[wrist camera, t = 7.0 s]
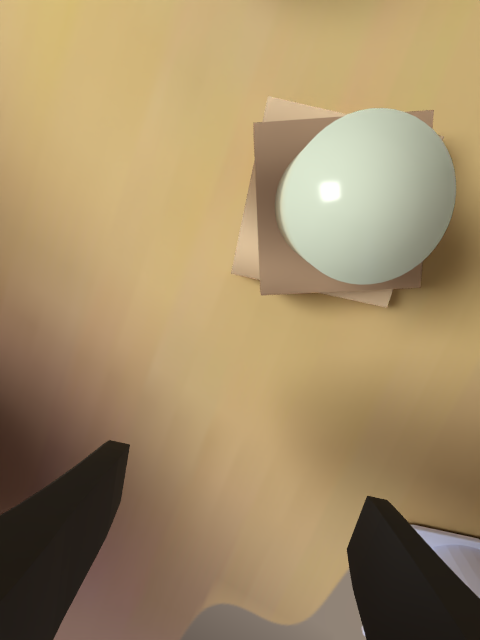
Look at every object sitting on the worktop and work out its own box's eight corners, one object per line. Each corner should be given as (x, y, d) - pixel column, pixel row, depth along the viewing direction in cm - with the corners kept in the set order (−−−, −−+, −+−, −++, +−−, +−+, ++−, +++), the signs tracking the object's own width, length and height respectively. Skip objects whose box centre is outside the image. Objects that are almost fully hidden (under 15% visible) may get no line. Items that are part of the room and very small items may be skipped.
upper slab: (402, 280, 18) (420, 287, 16) (260, 287, 18) (260, 295, 17) (412, 122, 16) (433, 110, 14) (253, 133, 17) (253, 122, 15)
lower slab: (374, 299, 20) (386, 307, 19) (233, 268, 20) (230, 273, 18) (423, 144, 18) (443, 136, 16) (266, 108, 18) (268, 95, 16)
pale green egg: (377, 273, 16) (426, 296, 12) (264, 254, 16) (272, 270, 12) (410, 150, 15) (480, 124, 10) (287, 128, 15) (306, 93, 10)
